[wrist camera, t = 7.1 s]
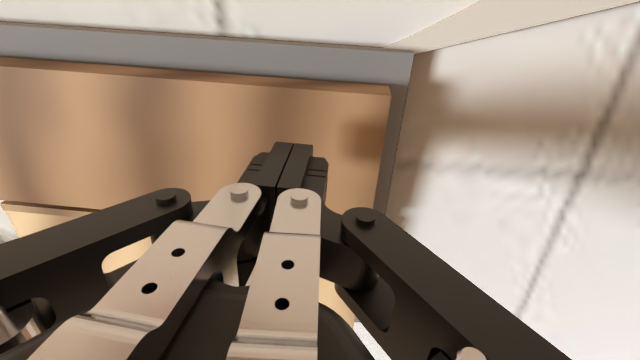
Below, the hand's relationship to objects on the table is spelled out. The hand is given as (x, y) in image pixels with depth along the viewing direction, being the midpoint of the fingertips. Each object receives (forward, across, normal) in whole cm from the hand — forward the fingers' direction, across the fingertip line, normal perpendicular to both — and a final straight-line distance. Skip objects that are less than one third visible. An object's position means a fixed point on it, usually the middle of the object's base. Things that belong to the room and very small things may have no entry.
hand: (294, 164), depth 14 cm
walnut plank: (+4, +7, +2) cm, 8 cm away
